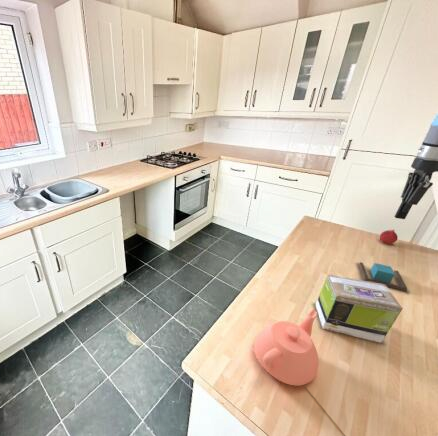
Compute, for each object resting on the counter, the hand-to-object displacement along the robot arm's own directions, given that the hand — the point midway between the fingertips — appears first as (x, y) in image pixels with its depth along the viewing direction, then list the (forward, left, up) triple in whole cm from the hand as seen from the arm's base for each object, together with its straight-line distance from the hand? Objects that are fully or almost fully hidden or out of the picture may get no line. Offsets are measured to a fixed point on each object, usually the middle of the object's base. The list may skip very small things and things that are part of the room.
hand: (399, 217), depth 95 cm
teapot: (-23, +72, -20) cm, 78 cm away
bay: (-9, +12, -20) cm, 25 cm away
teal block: (-9, +13, -20) cm, 25 cm away
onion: (+7, -15, -20) cm, 26 cm away
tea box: (-20, +45, -20) cm, 53 cm away
